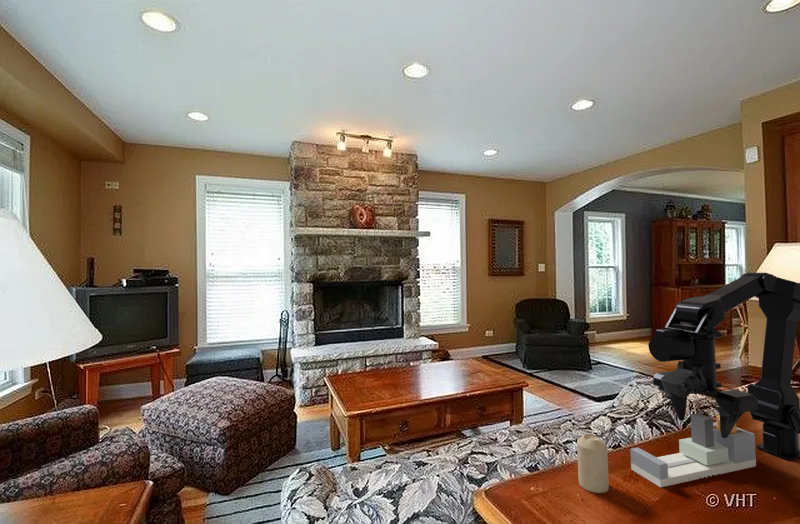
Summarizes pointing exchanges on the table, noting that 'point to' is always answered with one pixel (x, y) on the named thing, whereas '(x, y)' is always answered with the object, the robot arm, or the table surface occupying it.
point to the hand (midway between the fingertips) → (701, 428)
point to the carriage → (703, 442)
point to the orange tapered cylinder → (719, 425)
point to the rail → (695, 461)
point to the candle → (592, 464)
